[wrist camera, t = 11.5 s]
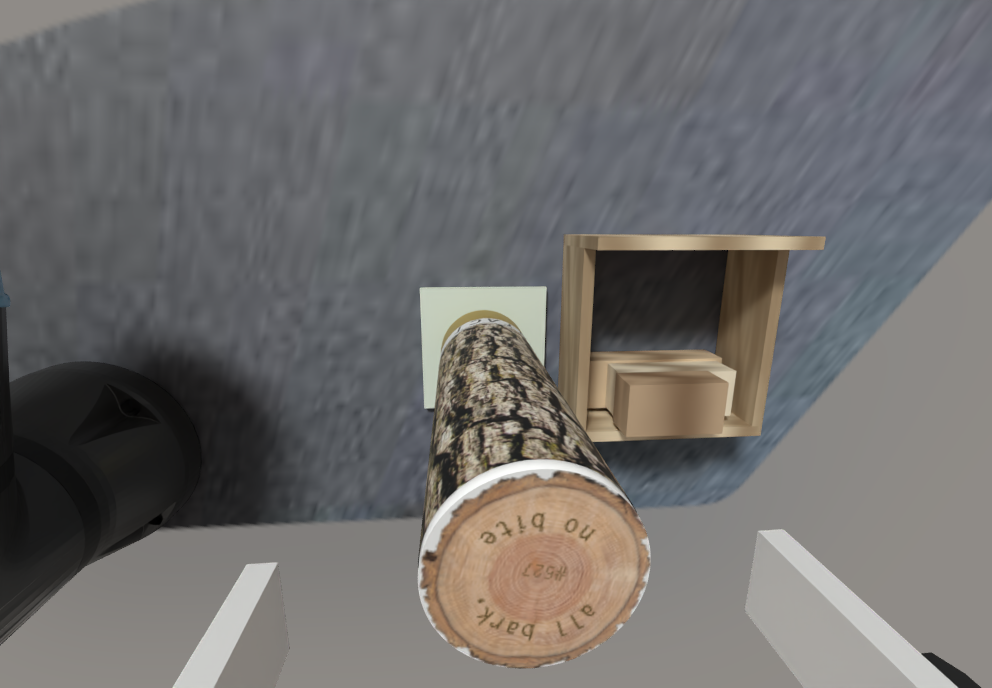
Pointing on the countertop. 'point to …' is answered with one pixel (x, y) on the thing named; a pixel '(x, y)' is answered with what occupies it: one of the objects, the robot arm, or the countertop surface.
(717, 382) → the offcut stack
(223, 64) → the countertop surface
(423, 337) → the felt mat
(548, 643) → the wooden log
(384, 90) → the countertop surface
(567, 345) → the wooden open box
